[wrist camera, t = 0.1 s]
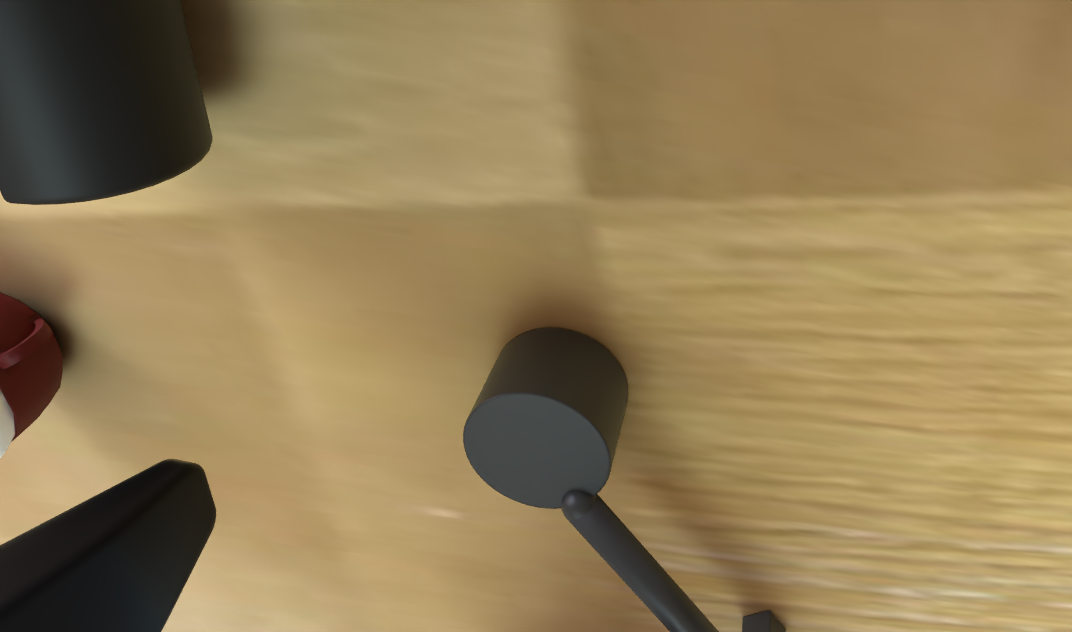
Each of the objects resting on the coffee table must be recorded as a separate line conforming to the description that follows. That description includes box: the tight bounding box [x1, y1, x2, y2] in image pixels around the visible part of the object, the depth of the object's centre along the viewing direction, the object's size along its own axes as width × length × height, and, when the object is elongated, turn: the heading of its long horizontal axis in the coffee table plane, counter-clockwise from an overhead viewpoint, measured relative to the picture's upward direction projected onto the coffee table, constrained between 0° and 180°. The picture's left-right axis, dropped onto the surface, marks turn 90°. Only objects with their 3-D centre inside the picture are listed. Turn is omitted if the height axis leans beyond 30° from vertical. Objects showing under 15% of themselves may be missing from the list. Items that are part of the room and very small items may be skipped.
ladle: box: [463, 328, 786, 632], centre depth 26 cm, size 17×5×4 cm, turn 39°
